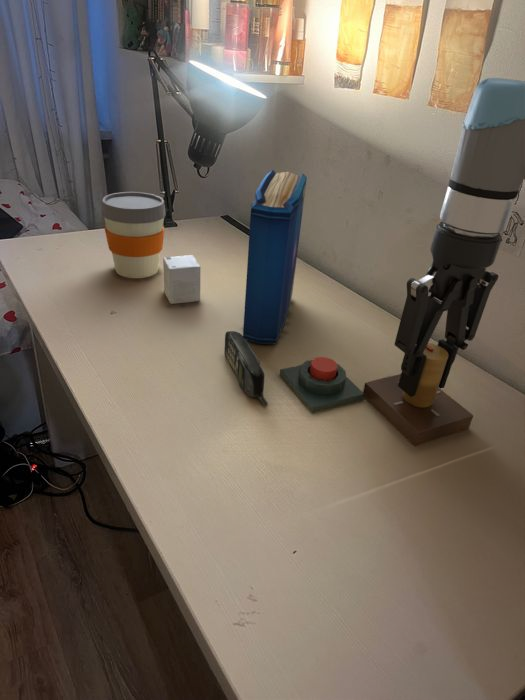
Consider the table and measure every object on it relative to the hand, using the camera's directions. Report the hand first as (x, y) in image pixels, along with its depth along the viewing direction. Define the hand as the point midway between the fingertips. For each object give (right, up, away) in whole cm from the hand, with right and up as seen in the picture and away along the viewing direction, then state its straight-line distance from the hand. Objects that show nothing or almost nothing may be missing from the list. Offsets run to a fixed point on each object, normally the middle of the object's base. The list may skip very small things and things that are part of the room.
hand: (421, 386), depth 72 cm
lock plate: (0, -4, +2) cm, 5 cm away
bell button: (-13, +2, +4) cm, 14 cm away
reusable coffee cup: (-50, +22, +37) cm, 66 cm away
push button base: (-14, -1, +6) cm, 15 cm away
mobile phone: (-25, +1, +6) cm, 26 cm away
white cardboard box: (-39, +16, +28) cm, 50 cm away
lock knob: (0, -2, +1) cm, 2 cm away
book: (-22, +11, +23) cm, 33 cm away
